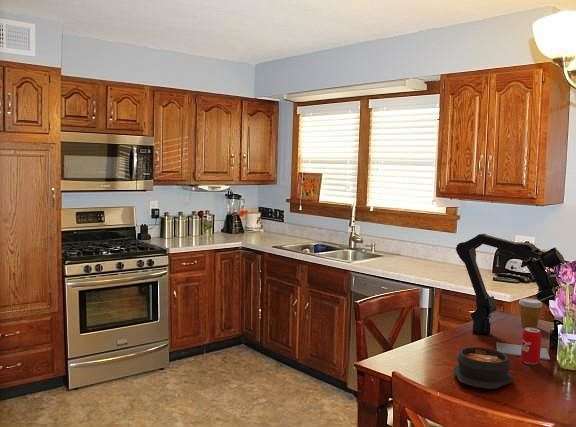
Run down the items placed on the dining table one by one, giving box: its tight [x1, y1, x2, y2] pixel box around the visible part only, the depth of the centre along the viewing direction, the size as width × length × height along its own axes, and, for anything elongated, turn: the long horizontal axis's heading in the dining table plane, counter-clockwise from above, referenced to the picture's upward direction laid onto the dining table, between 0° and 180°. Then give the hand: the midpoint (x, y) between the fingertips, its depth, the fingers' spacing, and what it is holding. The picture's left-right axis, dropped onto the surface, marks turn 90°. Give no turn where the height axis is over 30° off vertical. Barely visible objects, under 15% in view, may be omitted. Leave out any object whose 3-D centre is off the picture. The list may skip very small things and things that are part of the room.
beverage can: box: [520, 327, 542, 365], centre depth 193 cm, size 6×6×12 cm
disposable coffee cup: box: [518, 297, 544, 329], centre depth 237 cm, size 10×10×12 cm
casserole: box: [452, 346, 514, 390], centre depth 176 cm, size 25×19×8 cm
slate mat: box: [495, 342, 551, 361], centre depth 204 cm, size 18×12×1 cm, turn 70°
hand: (559, 310), depth 208 cm, fingers open, 9 cm apart
